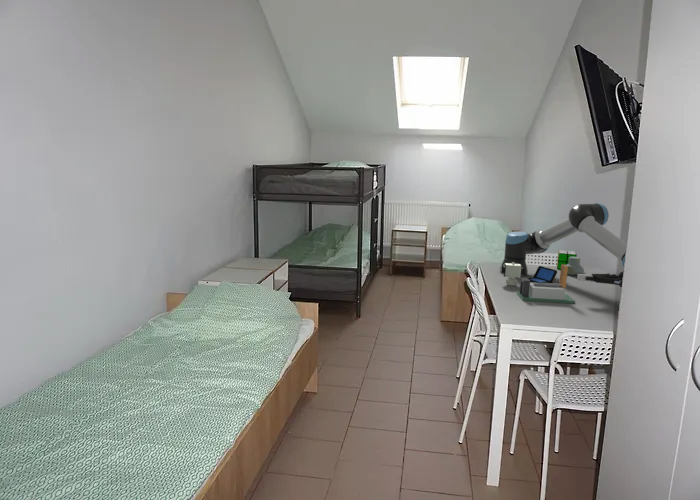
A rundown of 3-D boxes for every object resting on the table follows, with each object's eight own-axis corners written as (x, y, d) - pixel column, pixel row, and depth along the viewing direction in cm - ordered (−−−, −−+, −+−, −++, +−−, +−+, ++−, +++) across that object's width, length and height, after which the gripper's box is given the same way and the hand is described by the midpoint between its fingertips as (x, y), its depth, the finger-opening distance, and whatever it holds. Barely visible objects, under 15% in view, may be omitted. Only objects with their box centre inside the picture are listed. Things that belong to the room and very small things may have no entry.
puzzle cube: (574, 267, 333) (575, 251, 331) (574, 271, 323) (576, 254, 321) (556, 266, 336) (558, 250, 334) (557, 269, 327) (558, 253, 325)
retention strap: (562, 285, 260) (564, 264, 258) (565, 287, 255) (568, 266, 253) (532, 283, 261) (534, 263, 259) (534, 285, 256) (537, 265, 254)
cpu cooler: (567, 296, 265) (569, 278, 263) (575, 303, 253) (577, 284, 251) (516, 293, 266) (518, 276, 265) (522, 300, 255) (524, 282, 253)
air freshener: (585, 275, 312) (587, 258, 310) (577, 277, 307) (579, 260, 305) (568, 271, 320) (570, 255, 319) (560, 273, 316) (562, 256, 314)
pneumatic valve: (523, 286, 281) (525, 264, 278) (500, 285, 282) (502, 262, 280) (521, 284, 286) (524, 261, 284) (499, 282, 288) (501, 260, 286)
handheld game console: (524, 280, 296) (525, 267, 294) (537, 278, 301) (539, 265, 300) (542, 286, 285) (544, 272, 284) (556, 284, 291) (558, 270, 289)
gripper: (634, 291, 248) (581, 288, 250) (622, 284, 261) (572, 281, 263) (636, 275, 247) (583, 272, 249) (624, 269, 260) (574, 266, 261)
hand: (577, 277), depth 256 cm, fingers closed
